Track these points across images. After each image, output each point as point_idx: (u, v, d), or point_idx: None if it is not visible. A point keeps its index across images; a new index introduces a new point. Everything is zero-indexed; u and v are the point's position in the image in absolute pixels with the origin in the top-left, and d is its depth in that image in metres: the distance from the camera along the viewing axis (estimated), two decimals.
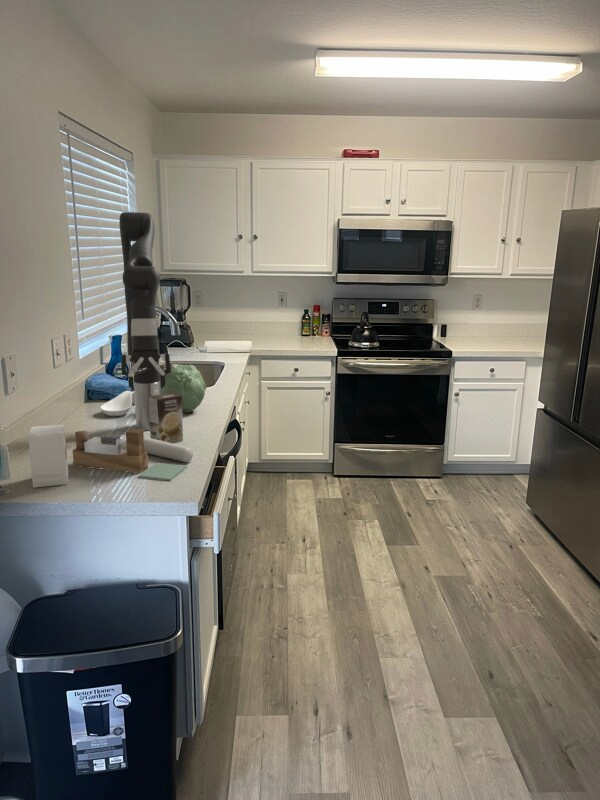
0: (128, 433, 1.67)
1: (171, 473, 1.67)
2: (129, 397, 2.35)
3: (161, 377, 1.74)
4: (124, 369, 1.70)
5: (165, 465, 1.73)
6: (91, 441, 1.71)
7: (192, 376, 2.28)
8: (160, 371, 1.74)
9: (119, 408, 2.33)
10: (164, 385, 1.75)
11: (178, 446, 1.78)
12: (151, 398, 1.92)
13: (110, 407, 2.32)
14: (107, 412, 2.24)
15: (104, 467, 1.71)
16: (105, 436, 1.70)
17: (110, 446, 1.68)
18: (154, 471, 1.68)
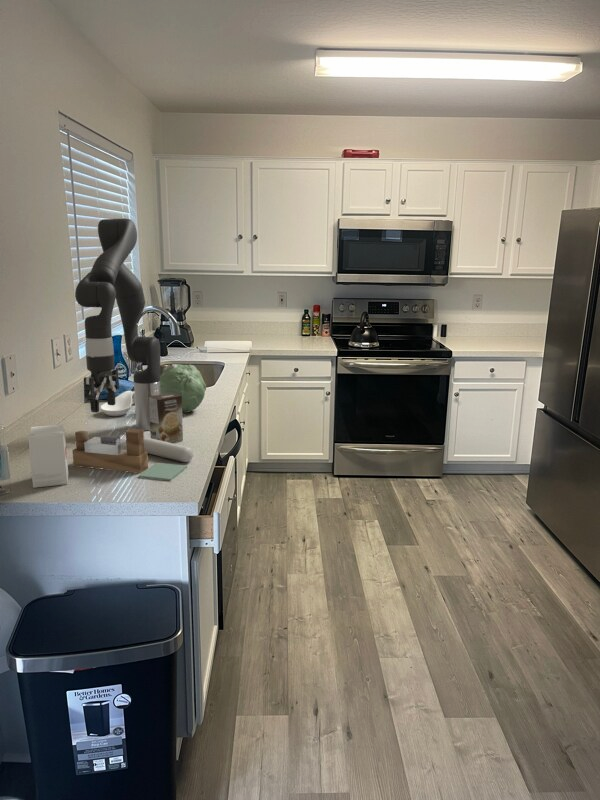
0: (128, 433, 1.67)
1: (171, 473, 1.67)
2: (130, 397, 2.35)
3: (114, 394, 1.72)
4: (93, 392, 1.61)
5: (165, 465, 1.73)
6: (91, 441, 1.71)
7: (192, 376, 2.28)
8: (113, 388, 1.71)
9: (119, 408, 2.33)
10: (114, 402, 1.73)
11: (178, 446, 1.78)
12: (151, 398, 1.92)
13: (111, 406, 2.33)
14: (106, 412, 2.24)
15: (104, 467, 1.71)
16: (105, 436, 1.70)
17: (110, 446, 1.68)
18: (154, 471, 1.68)
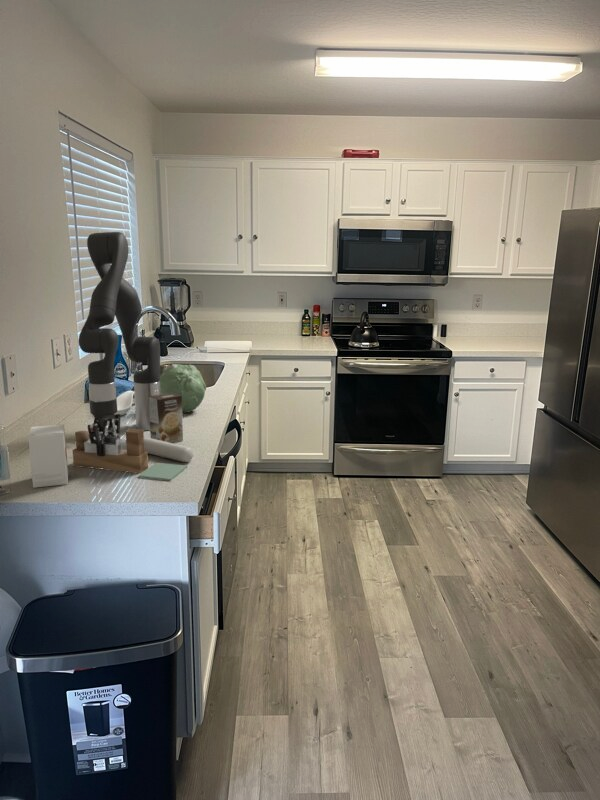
0: (128, 433, 1.67)
1: (171, 473, 1.67)
2: (130, 397, 2.35)
3: None
4: (99, 438, 1.65)
5: (165, 465, 1.73)
6: None
7: (192, 376, 2.28)
8: (114, 433, 1.73)
9: (120, 408, 2.34)
10: None
11: (178, 446, 1.78)
12: (151, 398, 1.92)
13: None
14: None
15: (104, 467, 1.71)
16: None
17: (110, 446, 1.68)
18: (154, 471, 1.68)
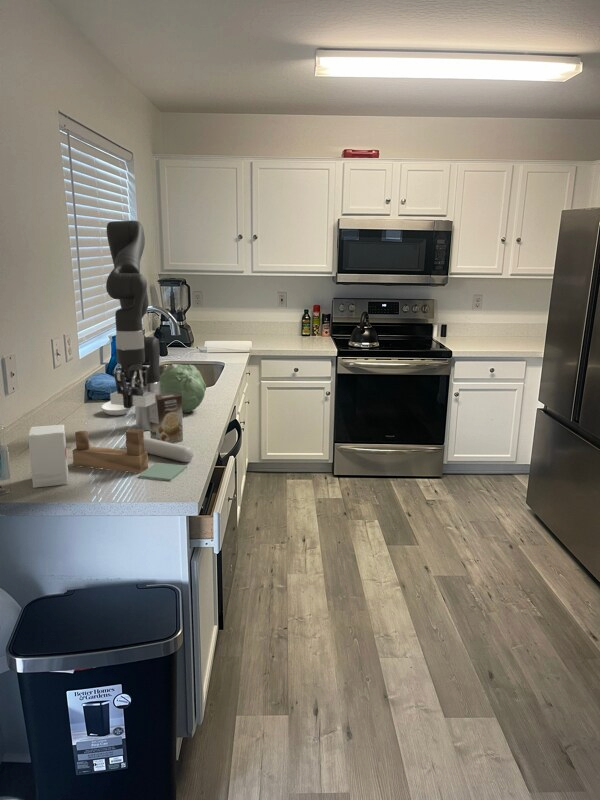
0: (128, 433, 1.67)
1: (171, 473, 1.67)
2: None
3: None
4: (126, 388, 1.59)
5: (165, 465, 1.73)
6: (117, 393, 1.64)
7: (192, 376, 2.28)
8: (141, 386, 1.67)
9: (121, 407, 2.34)
10: None
11: (178, 446, 1.78)
12: None
13: (112, 406, 2.34)
14: (106, 411, 2.25)
15: (104, 467, 1.71)
16: (132, 387, 1.64)
17: (137, 397, 1.61)
18: (154, 471, 1.68)
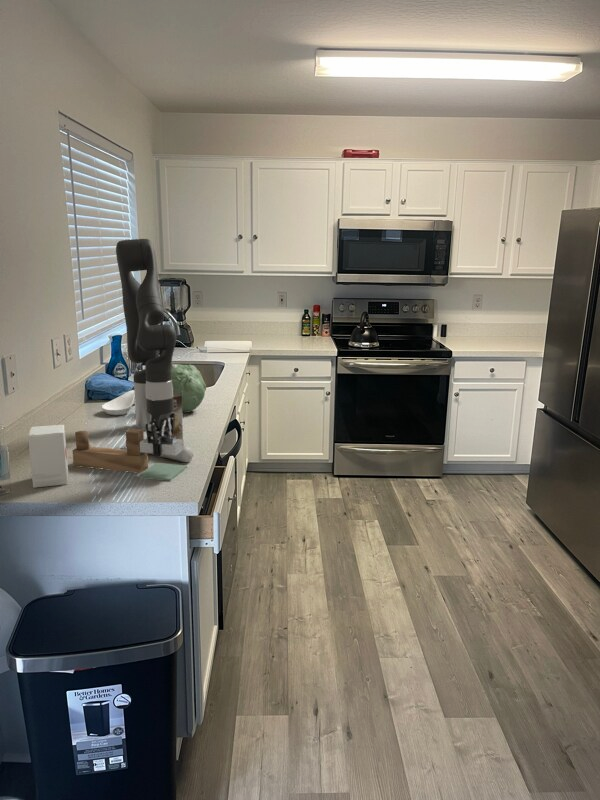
0: (128, 433, 1.67)
1: (171, 473, 1.67)
2: (132, 397, 2.35)
3: None
4: (156, 438, 1.61)
5: (165, 465, 1.73)
6: (146, 441, 1.66)
7: (192, 376, 2.28)
8: (169, 433, 1.69)
9: (122, 407, 2.34)
10: None
11: None
12: None
13: (113, 405, 2.34)
14: (106, 411, 2.26)
15: (104, 467, 1.71)
16: None
17: (167, 446, 1.63)
18: (154, 471, 1.68)
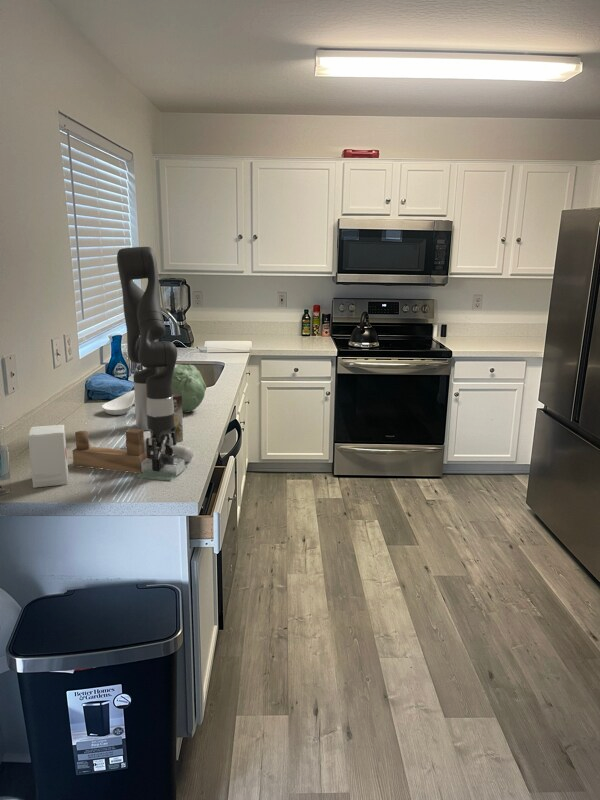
0: (128, 433, 1.67)
1: None
2: (133, 397, 2.35)
3: (172, 451, 1.71)
4: (156, 453, 1.61)
5: None
6: (148, 461, 1.68)
7: (192, 376, 2.28)
8: (171, 445, 1.71)
9: (122, 407, 2.35)
10: None
11: (178, 446, 1.78)
12: None
13: (114, 405, 2.35)
14: (106, 410, 2.26)
15: (104, 467, 1.71)
16: (162, 456, 1.67)
17: (168, 466, 1.65)
18: None
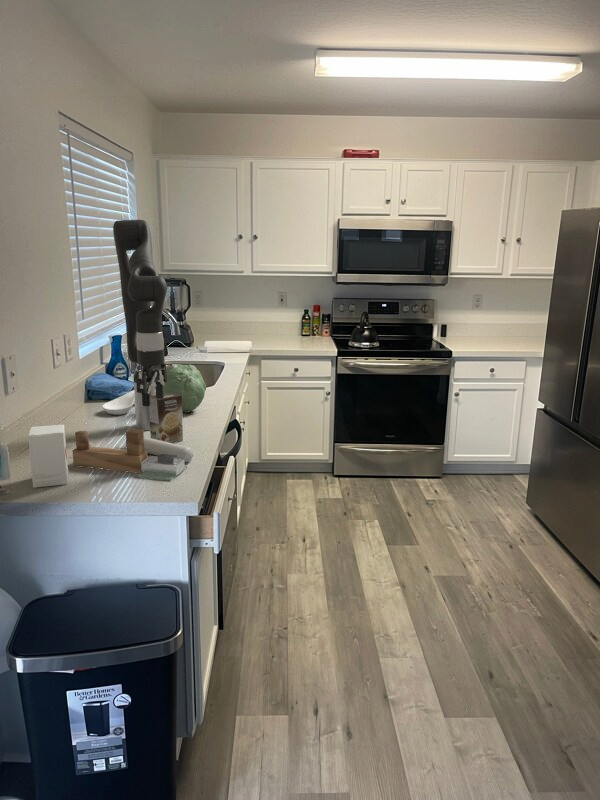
0: (128, 433, 1.67)
1: None
2: (134, 396, 2.36)
3: (162, 388, 1.72)
4: (145, 387, 1.62)
5: None
6: (148, 461, 1.68)
7: (192, 376, 2.28)
8: (162, 382, 1.71)
9: (123, 407, 2.35)
10: None
11: (178, 446, 1.78)
12: (151, 398, 1.92)
13: (115, 405, 2.35)
14: (106, 410, 2.27)
15: (104, 467, 1.71)
16: (162, 456, 1.67)
17: (168, 466, 1.65)
18: None
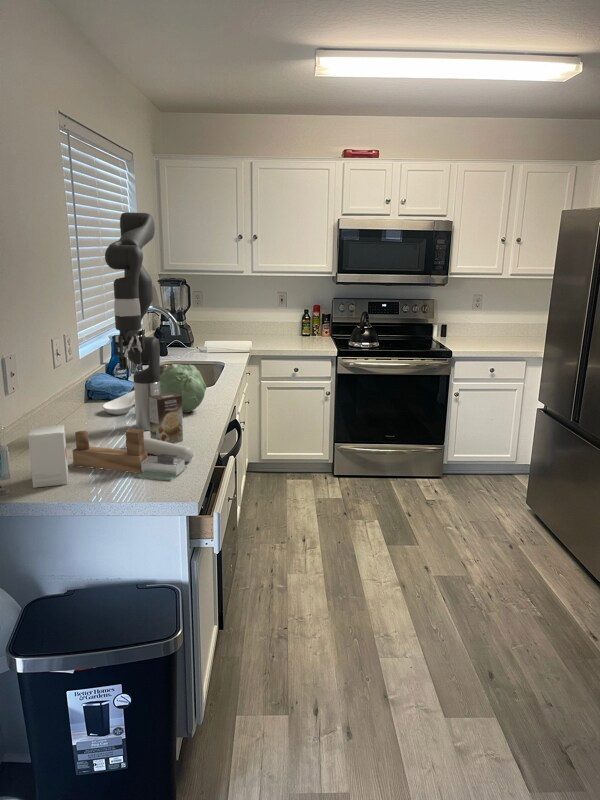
0: (128, 433, 1.67)
1: None
2: (134, 396, 2.36)
3: (140, 354, 1.81)
4: (122, 350, 1.70)
5: None
6: (148, 461, 1.68)
7: (192, 376, 2.28)
8: (139, 348, 1.80)
9: (124, 406, 2.35)
10: (140, 361, 1.82)
11: (178, 446, 1.78)
12: (151, 398, 1.92)
13: (116, 405, 2.35)
14: (106, 410, 2.27)
15: (104, 467, 1.71)
16: (162, 456, 1.67)
17: (168, 466, 1.65)
18: None
